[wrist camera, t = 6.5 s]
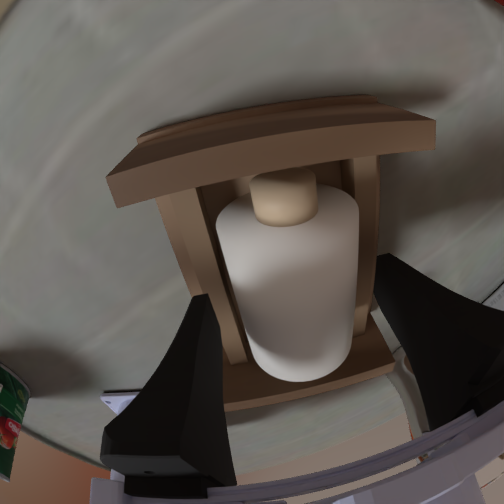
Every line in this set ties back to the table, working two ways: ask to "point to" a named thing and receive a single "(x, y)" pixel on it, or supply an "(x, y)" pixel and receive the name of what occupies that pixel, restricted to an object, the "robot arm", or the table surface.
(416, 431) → the beer glass
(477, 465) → the robot arm
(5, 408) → the canned tomato
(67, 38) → the table surface
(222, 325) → the holder
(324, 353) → the roll
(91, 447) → the table surface
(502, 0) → the apple
